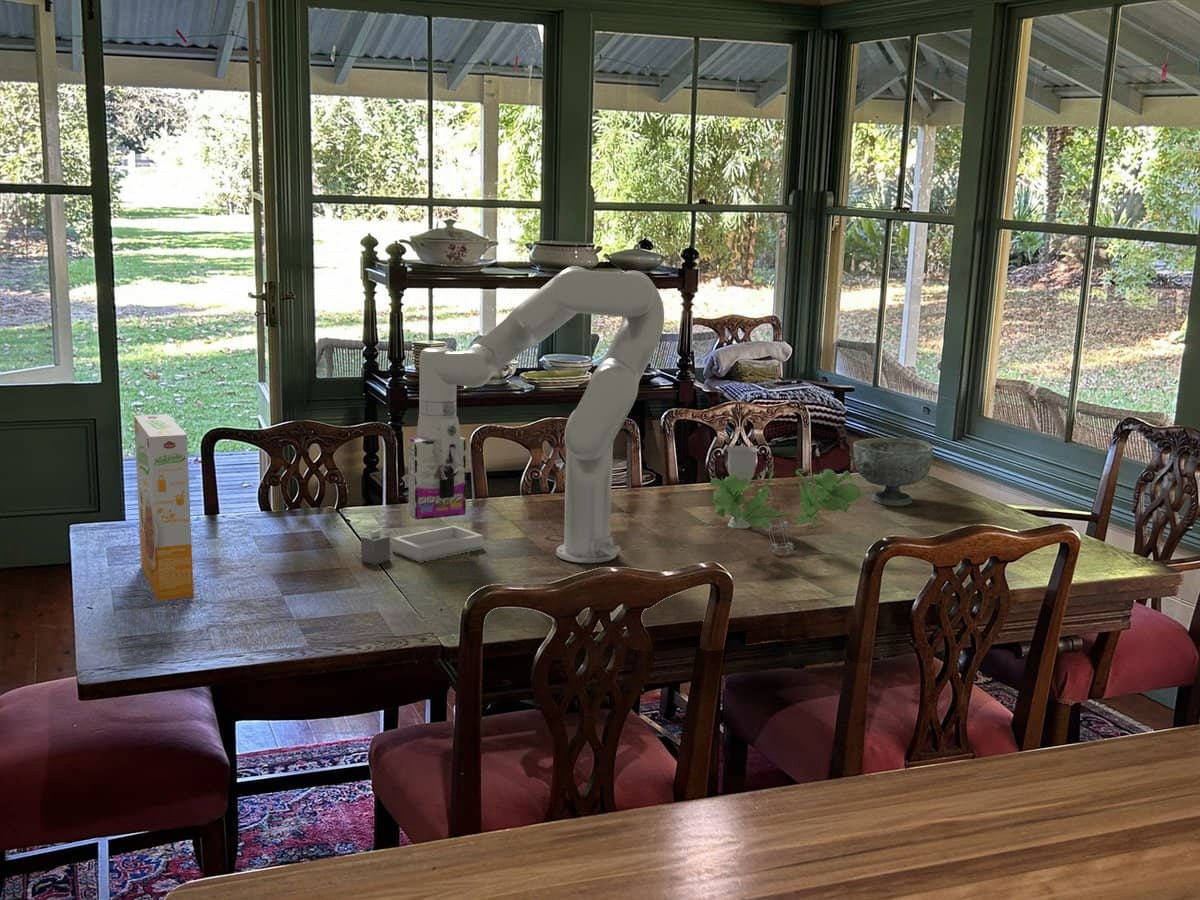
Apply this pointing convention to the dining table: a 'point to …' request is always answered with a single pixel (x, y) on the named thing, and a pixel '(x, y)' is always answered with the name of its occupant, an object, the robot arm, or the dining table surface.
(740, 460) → the chalice
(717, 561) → the dining table surface
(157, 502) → the cereal box
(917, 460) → the bowl
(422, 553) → the tray
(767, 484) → the plant cuttings
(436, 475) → the candy bar box
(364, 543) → the brick
